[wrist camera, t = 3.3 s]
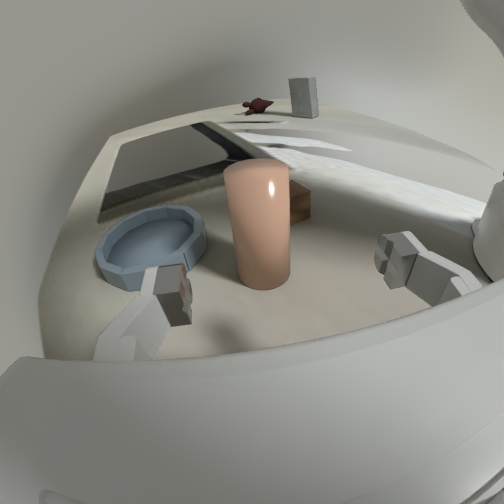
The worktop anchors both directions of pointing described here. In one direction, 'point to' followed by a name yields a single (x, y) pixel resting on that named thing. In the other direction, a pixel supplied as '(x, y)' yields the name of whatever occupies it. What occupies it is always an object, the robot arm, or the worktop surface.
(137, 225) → the dish
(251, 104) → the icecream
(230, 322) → the worktop surface
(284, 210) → the peach tapered cylinder
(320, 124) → the worktop surface
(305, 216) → the walnut block
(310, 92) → the skincare box
